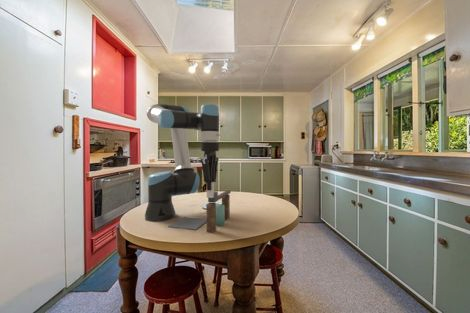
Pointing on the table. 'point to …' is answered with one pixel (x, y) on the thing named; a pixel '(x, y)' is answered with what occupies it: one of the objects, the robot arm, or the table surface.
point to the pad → (188, 223)
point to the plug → (220, 215)
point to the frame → (212, 213)
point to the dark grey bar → (218, 196)
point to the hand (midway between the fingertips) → (210, 197)
